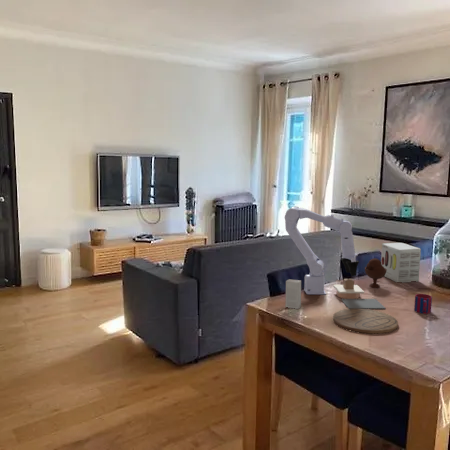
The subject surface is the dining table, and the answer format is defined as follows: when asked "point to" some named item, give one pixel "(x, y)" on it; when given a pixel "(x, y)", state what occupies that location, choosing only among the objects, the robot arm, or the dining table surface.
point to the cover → (348, 287)
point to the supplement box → (401, 261)
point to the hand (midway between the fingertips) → (351, 274)
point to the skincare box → (293, 294)
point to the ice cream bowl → (375, 271)
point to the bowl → (348, 295)
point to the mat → (362, 304)
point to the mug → (423, 303)
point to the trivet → (365, 321)
